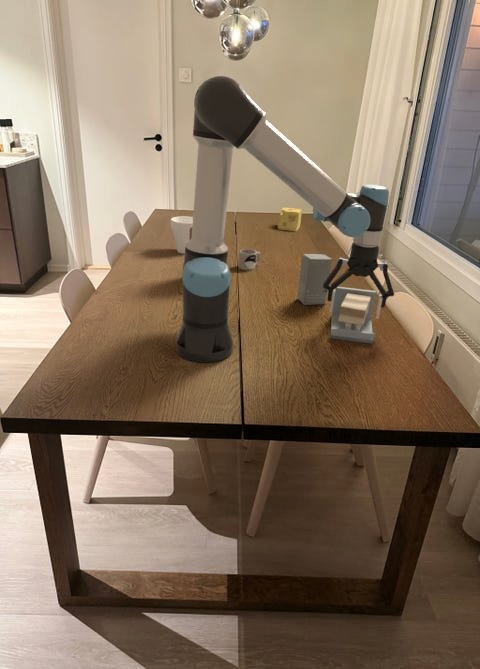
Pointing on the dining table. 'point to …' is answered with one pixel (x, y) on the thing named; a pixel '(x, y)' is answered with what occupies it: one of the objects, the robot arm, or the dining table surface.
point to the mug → (248, 259)
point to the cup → (181, 231)
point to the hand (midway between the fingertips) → (353, 314)
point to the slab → (354, 308)
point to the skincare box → (313, 278)
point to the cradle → (349, 329)
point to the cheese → (290, 219)
